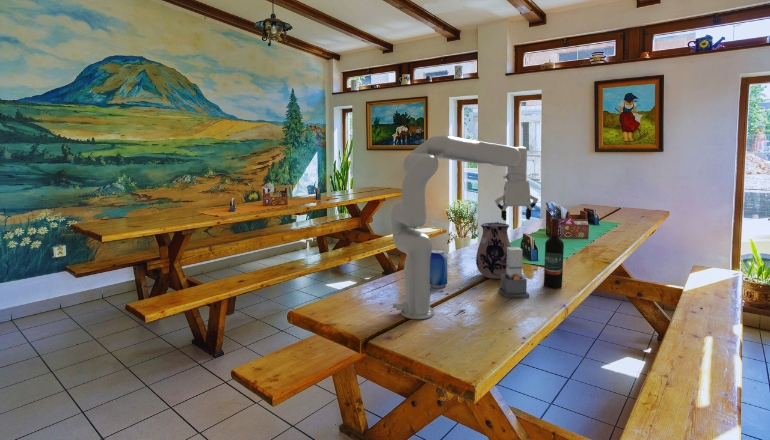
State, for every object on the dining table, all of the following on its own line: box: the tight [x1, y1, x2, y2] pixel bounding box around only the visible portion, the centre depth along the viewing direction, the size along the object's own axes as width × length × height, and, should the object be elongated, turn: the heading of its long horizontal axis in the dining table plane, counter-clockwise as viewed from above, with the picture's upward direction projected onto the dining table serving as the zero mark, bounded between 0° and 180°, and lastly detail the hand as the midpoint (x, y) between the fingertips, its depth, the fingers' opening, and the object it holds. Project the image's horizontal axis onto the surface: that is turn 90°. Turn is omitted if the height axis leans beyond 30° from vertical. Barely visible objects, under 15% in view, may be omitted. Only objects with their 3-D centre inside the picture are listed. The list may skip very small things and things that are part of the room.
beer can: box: [430, 248, 448, 289], centre depth 206 cm, size 8×8×16 cm
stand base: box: [498, 274, 530, 299], centre depth 193 cm, size 10×10×9 cm
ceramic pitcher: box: [475, 221, 512, 280], centre depth 218 cm, size 18×21×25 cm
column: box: [506, 246, 523, 279], centre depth 192 cm, size 5×5×18 cm
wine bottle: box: [543, 217, 565, 290], centre depth 200 cm, size 8×8×30 cm
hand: (516, 219), depth 188 cm, fingers open, 9 cm apart
